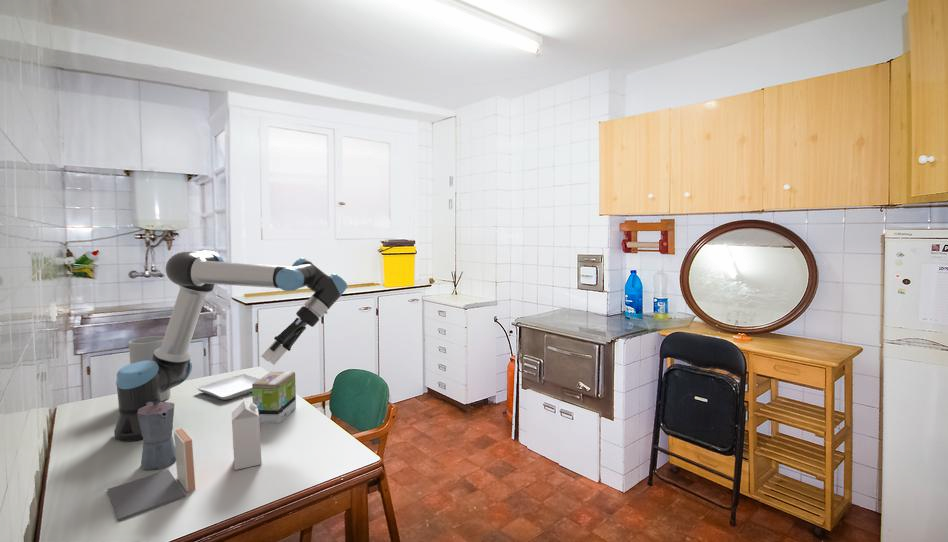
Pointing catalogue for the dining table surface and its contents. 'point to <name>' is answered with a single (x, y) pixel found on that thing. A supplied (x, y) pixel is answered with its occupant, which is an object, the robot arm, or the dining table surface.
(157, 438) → the moka pot
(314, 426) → the dining table surface
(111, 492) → the rubber mat
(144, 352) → the cylinder vase
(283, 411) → the tea box
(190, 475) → the terracotta tile
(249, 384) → the salad plate
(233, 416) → the milk carton
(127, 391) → the robot arm
